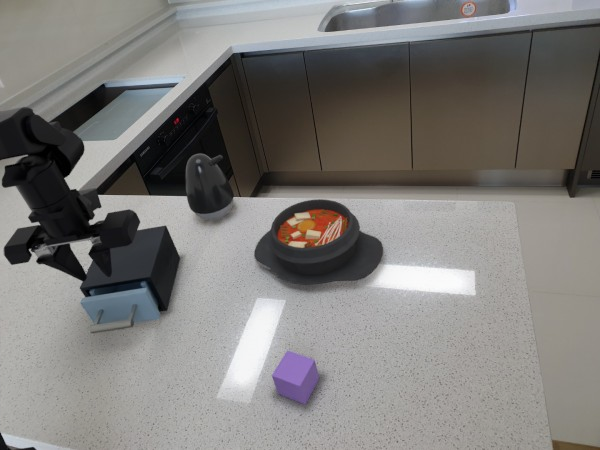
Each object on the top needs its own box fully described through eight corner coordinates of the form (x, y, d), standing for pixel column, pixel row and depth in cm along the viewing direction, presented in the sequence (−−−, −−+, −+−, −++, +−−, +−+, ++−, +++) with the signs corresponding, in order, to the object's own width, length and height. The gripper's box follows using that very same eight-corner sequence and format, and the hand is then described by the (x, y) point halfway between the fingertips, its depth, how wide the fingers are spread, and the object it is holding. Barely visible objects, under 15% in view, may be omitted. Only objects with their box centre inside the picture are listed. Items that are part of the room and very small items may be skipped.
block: (305, 404, 64) (299, 386, 61) (277, 393, 66) (271, 375, 63) (319, 378, 67) (315, 359, 64) (292, 368, 69) (287, 350, 66)
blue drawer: (153, 340, 77) (138, 313, 73) (88, 350, 77) (69, 324, 73) (172, 267, 91) (160, 241, 87) (117, 276, 92) (103, 250, 88)
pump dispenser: (236, 223, 101) (217, 163, 92) (190, 229, 102) (167, 171, 93) (241, 197, 109) (224, 140, 100) (199, 203, 110) (178, 147, 101)
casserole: (396, 236, 89) (394, 201, 84) (364, 306, 76) (359, 269, 71) (282, 219, 99) (274, 187, 94) (238, 278, 87) (226, 244, 82)
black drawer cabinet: (167, 310, 83) (150, 276, 78) (100, 321, 84) (79, 288, 79) (180, 257, 95) (166, 225, 90) (121, 267, 96) (104, 235, 90)
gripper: (128, 157, 70) (163, 236, 79) (11, 178, 71) (60, 253, 80) (107, 197, 61) (150, 281, 70) (-26, 220, 62) (33, 300, 71)
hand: (97, 277), depth 73 cm, fingers open, 4 cm apart
